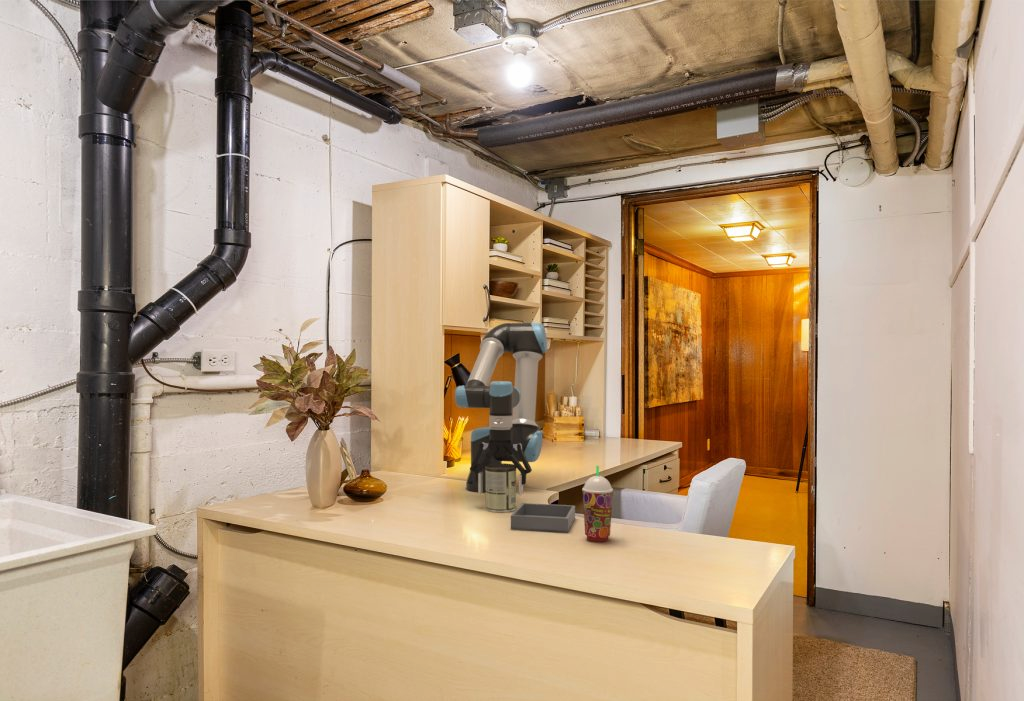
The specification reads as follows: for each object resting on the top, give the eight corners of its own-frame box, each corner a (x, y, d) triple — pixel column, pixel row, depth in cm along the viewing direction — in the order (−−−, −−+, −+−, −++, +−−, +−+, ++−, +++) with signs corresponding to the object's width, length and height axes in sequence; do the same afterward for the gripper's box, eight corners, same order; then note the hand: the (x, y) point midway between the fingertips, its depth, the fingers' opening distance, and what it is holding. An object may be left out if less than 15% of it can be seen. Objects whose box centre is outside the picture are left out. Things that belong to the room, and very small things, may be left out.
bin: (522, 515, 205) (522, 503, 205) (575, 518, 201) (575, 505, 201) (510, 529, 189) (510, 515, 189) (568, 532, 185) (568, 518, 185)
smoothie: (593, 545, 173) (593, 469, 173) (576, 537, 181) (576, 464, 181) (619, 541, 177) (619, 466, 177) (601, 533, 184) (601, 462, 185)
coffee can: (487, 505, 220) (487, 463, 220) (517, 505, 219) (517, 463, 219) (482, 512, 210) (482, 468, 210) (515, 513, 209) (515, 468, 209)
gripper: (460, 428, 214) (460, 494, 213) (536, 430, 208) (536, 497, 208) (467, 426, 221) (467, 489, 220) (540, 428, 216) (540, 493, 215)
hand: (500, 493), depth 214 cm, fingers open, 13 cm apart
